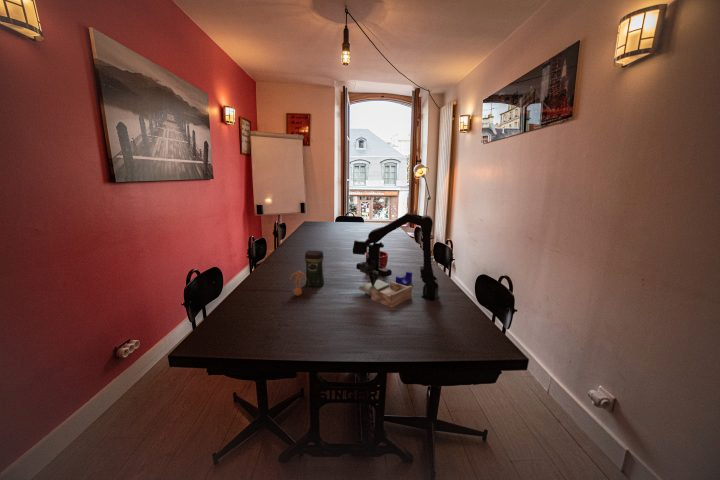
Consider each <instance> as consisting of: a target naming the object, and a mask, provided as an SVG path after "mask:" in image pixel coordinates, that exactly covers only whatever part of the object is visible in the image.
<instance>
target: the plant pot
mask: <svg viewBox="0 0 720 480" xmlns="http://www.w3.org/2000/svg"><path fill="white" fill-rule="evenodd" d="M367 257H368V251H367V253H365V259H366V258H367ZM380 257H381V260H380V263H379V265H381V267H380V268H379V269H383V268H387V265H388V259H389V258H388V257H389V254H388V253H387V252H385V251H383V250H380Z"/></svg>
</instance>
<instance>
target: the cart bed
mask: <svg viewBox="0 0 720 480" xmlns="http://www.w3.org/2000/svg"><path fill="white" fill-rule="evenodd" d="M389 286H390V287H388V288H386V289H384V290H381V291H376V290H374V289H371V295H370V300H372V301H373V302H376V303H379V304H382V305H384V306H387V307H389V308H395V307H396V306H398V305H400V304H401V303H403V302H404V303H405V302H406V301H407V300H410V299H412V293H413V286H412V285H406V286H404V285H401V284H398V283H396V281H390V282H389Z"/></svg>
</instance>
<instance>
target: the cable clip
mask: <svg viewBox="0 0 720 480" xmlns="http://www.w3.org/2000/svg"><path fill="white" fill-rule="evenodd" d="M412 282H413V272H412V271H406V272H405V275H404V276H399V275H398V276H395V283H398V284H401V285H404V286H409V284H412Z"/></svg>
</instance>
